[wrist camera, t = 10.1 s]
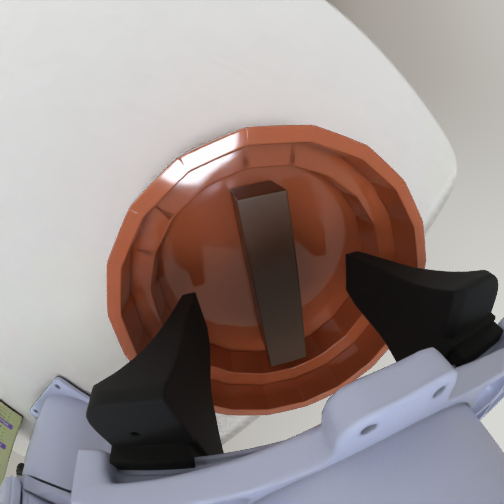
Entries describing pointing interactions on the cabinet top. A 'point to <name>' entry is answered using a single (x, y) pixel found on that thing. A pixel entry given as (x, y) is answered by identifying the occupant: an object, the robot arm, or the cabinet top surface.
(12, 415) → the box
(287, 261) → the stick
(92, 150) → the cabinet top surface
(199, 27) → the cabinet top surface
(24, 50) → the cabinet top surface
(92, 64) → the cabinet top surface
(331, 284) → the bowl
